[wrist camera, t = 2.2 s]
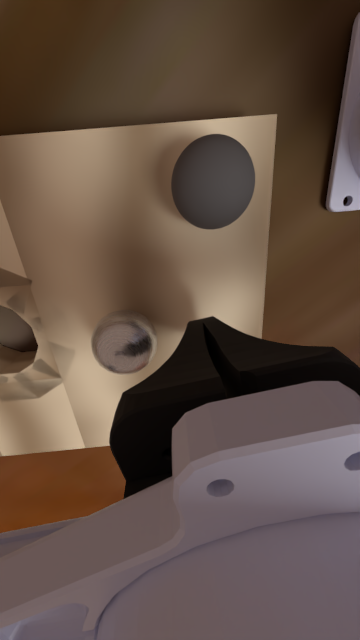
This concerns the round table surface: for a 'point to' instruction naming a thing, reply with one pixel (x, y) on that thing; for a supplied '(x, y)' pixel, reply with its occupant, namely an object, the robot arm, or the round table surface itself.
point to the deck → (113, 265)
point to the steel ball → (124, 342)
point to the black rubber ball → (213, 181)
